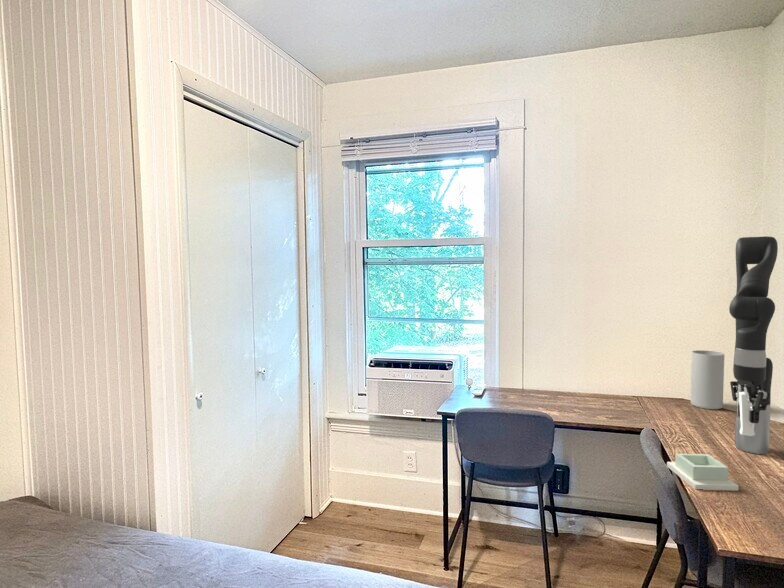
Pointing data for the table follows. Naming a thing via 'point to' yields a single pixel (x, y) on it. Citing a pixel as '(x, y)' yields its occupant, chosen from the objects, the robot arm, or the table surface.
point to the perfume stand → (702, 472)
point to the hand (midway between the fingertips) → (748, 419)
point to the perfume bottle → (745, 415)
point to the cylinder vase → (707, 379)
